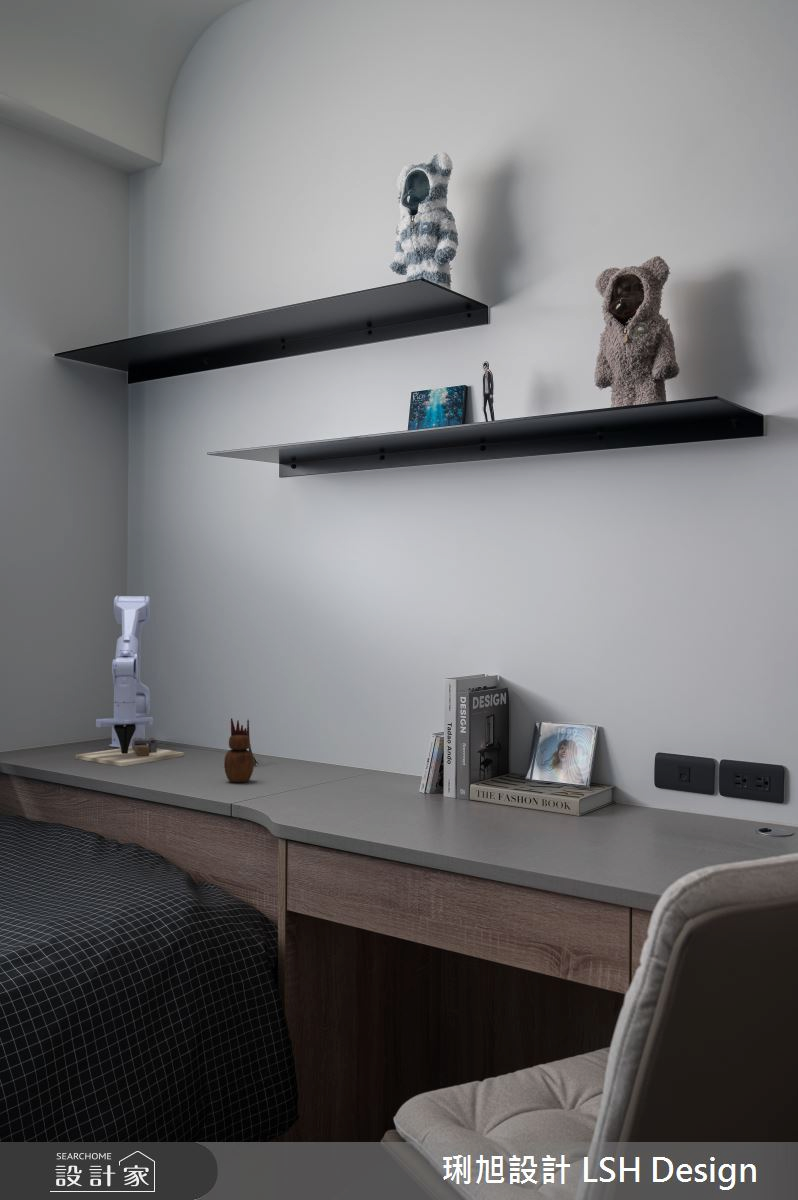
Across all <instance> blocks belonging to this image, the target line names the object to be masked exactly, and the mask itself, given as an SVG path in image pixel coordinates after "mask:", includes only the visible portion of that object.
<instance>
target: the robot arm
mask: <svg viewBox="0 0 798 1200" xmlns="http://www.w3.org/2000/svg"><path fill="white" fill-rule="evenodd" d="M113 616H114V618H115V621H116V624H118V625H121V636H119V637H118V638H117V640H116V647H115V656H114V658H113V659H112V663H111V675H112V685H113V717H110V718H109V717H108V718H96V720H95V727H96V728H103V727H111V744H110V743H109V745H108V746H109V747H112V748H113V747H114V748H117V749H120V748H121V753H122V754H126V753H128V748H129V747H132V739H135V737H142V739H145V738H146V726H153V725H154V717H152V716H147V717H146V715H149V714H150V713H151V712H150V711H151V693H150V692H151V690H150V689H149V686H147V685H146V684H144V683H143V682H142V681H141V659H142V658H141V653H142V651H141V649H142V646H141V643H142V634H141V633H142V630H143V627H144V626H146V625H148V624H149V623H150V621H151V620H150V619H151V618H150V617H151V598H150V596H149V595H146V596H143V595H141V596H139V595H137V596H136V595H135V596H134V595H127V596H126V595H116V596H115V597H114V598H113ZM146 744H147V745H148V743H146Z"/></svg>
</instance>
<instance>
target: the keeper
mask: <svg viewBox="0 0 798 1200" xmlns="http://www.w3.org/2000/svg"><path fill="white" fill-rule="evenodd" d="M132 743H134V744H148V747H149V752H150V753H155V752H157V749H158V747H157V746H158V744H157V743H158V741H157V739H156V738H154V737H151V738H149V737H148V738H146V737H145V739H132Z"/></svg>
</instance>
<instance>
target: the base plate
mask: <svg viewBox="0 0 798 1200" xmlns="http://www.w3.org/2000/svg"><path fill="white" fill-rule="evenodd" d="M184 756H185V752H183V751H176V750H171V749H170V750H169V749H162V748H157V752H155V753H150V752H149V755H147V756H137V754H136V753H135V751H134V749H133V748H132V747H129V748H128V753H126V754H122V753H121V748H114V749H108V750H100V751H93V752H86V753H81V754H75V759H77V760H80V761H88V762H92V763H98V764H99V763H100V764H105V765H110V766H116V767H126V766H132V765H138V764H139V765H140V764H144V763H150V762H157V761H162V760H168V759H175V758H180V757H181V758H182V757H184Z"/></svg>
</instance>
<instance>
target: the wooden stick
mask: <svg viewBox="0 0 798 1200" xmlns="http://www.w3.org/2000/svg"><path fill="white" fill-rule="evenodd" d="M135 739H142V737H135ZM147 744H148V743H146V744H134V743H132V748H133V749H134V751H135V753H136V754H137V756H147V755H149V747H148V745H147Z"/></svg>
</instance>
